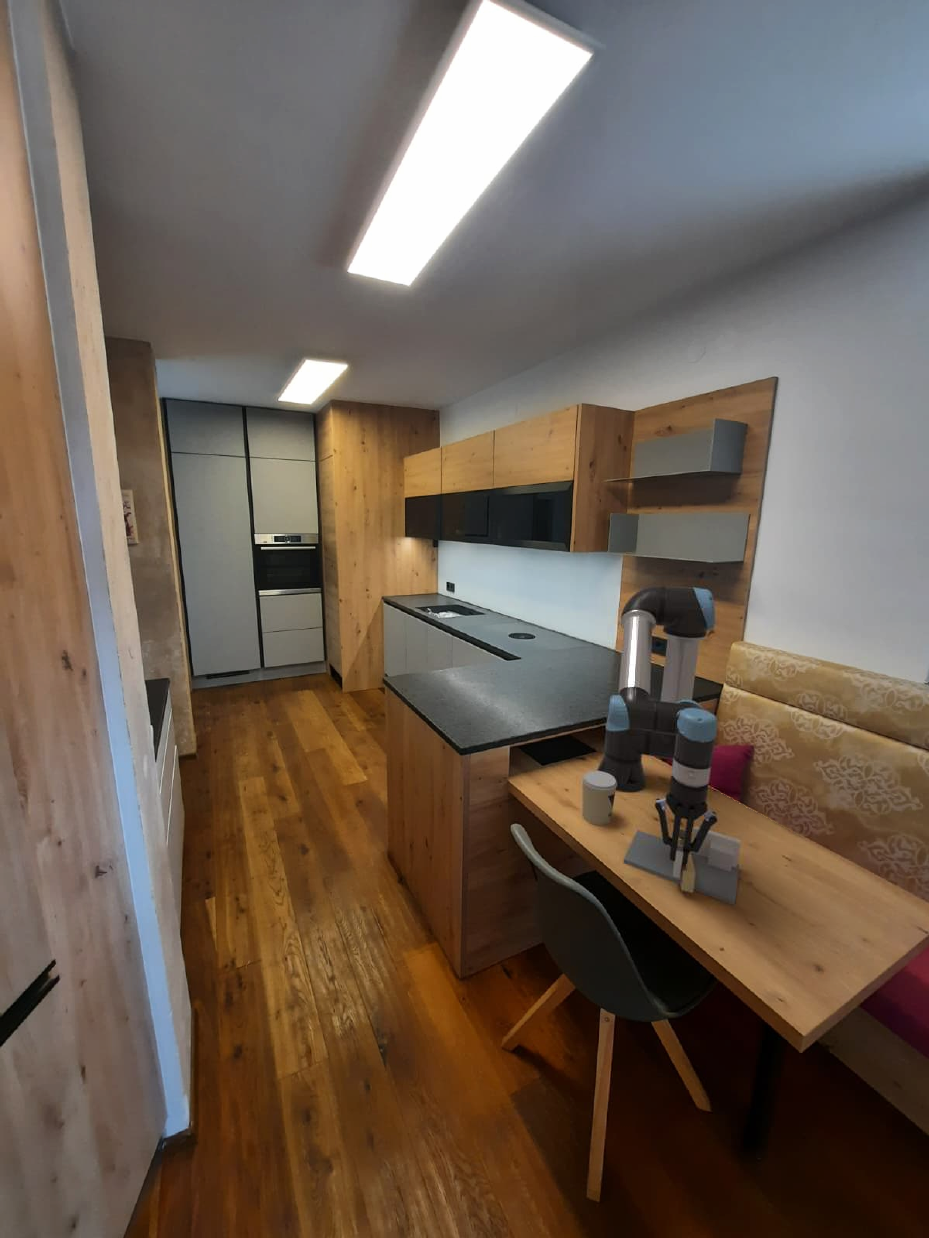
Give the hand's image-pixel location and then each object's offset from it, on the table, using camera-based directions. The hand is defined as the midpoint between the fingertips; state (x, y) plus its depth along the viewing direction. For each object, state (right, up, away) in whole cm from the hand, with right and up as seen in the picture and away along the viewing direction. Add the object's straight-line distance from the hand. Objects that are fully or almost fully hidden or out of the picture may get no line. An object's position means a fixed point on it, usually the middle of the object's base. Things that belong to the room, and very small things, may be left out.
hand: (676, 873), depth 110 cm
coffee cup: (-11, +2, +27) cm, 29 cm away
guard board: (+4, -2, +7) cm, 9 cm away
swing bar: (+3, -1, +3) cm, 5 cm away
